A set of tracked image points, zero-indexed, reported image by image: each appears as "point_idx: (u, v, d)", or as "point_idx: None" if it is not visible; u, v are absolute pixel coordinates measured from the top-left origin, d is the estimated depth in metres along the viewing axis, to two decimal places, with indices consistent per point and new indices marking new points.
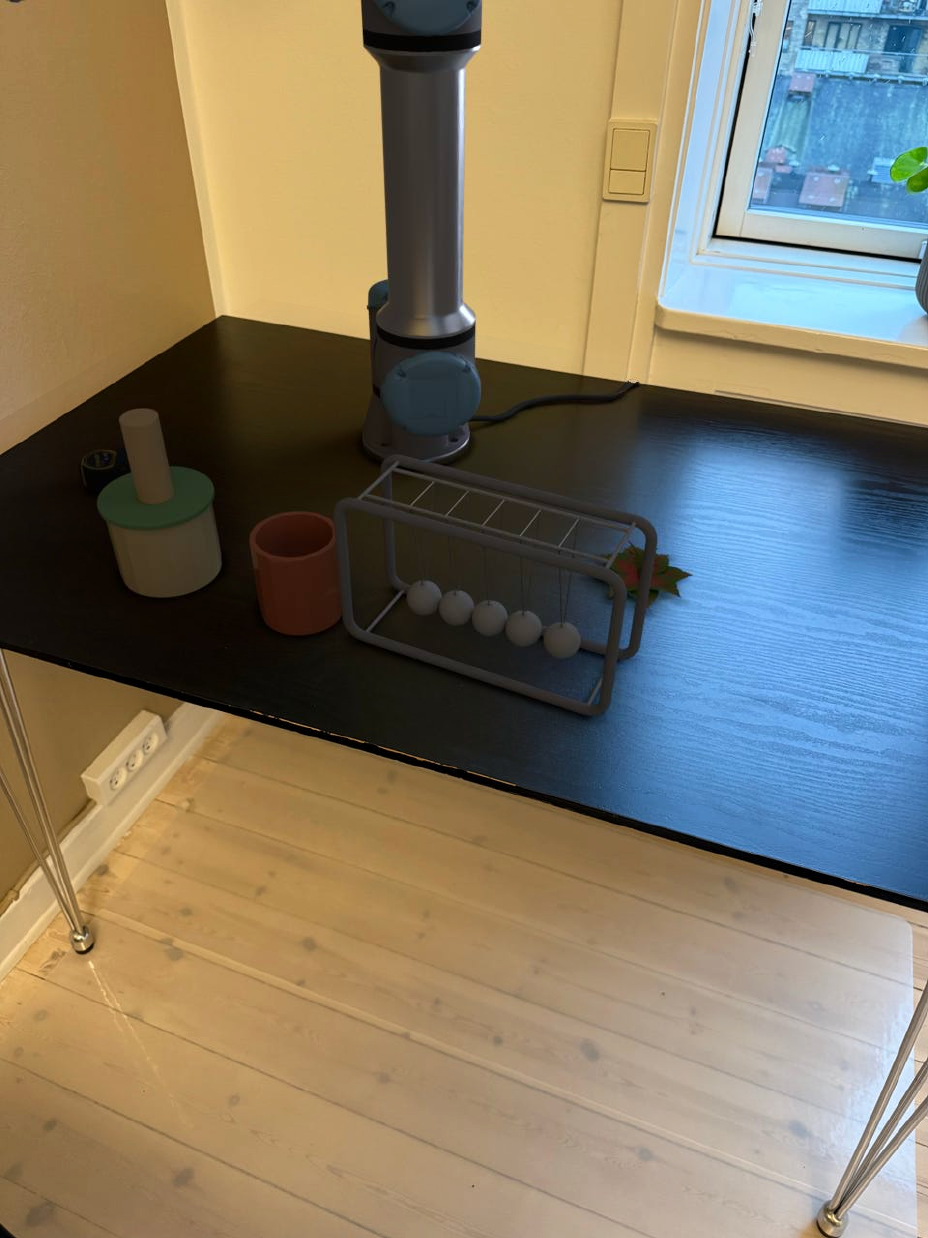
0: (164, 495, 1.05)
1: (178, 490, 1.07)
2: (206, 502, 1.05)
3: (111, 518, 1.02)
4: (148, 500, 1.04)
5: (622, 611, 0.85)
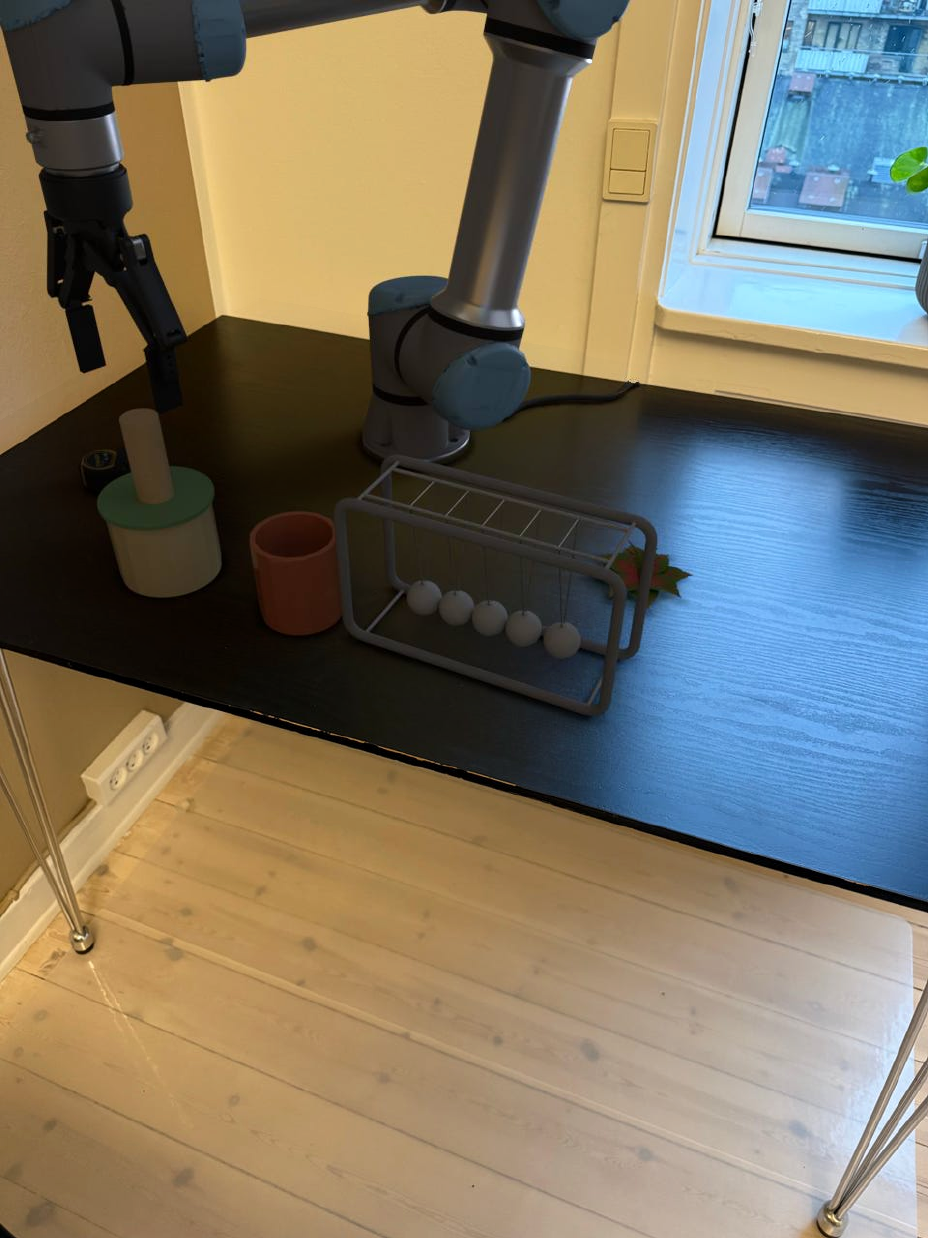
0: (164, 495, 1.05)
1: (178, 490, 1.07)
2: (206, 502, 1.05)
3: (111, 518, 1.02)
4: (148, 500, 1.04)
5: (622, 611, 0.85)
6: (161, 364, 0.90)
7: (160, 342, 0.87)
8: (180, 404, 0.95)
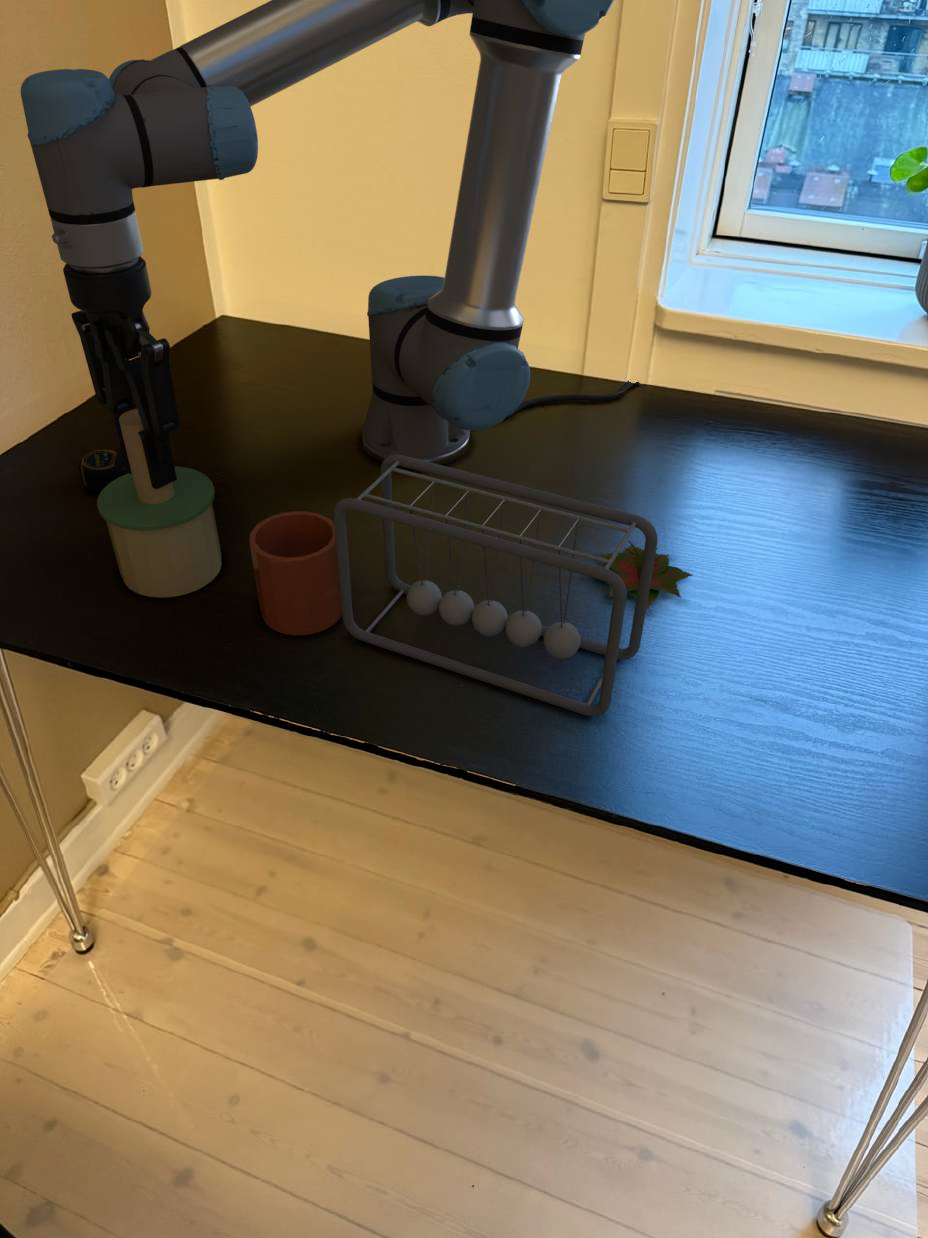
0: (164, 495, 1.05)
1: (178, 490, 1.07)
2: (206, 502, 1.05)
3: (111, 518, 1.02)
4: (148, 500, 1.04)
5: (622, 611, 0.85)
6: (156, 446, 0.99)
7: (155, 429, 0.96)
8: (174, 479, 1.04)
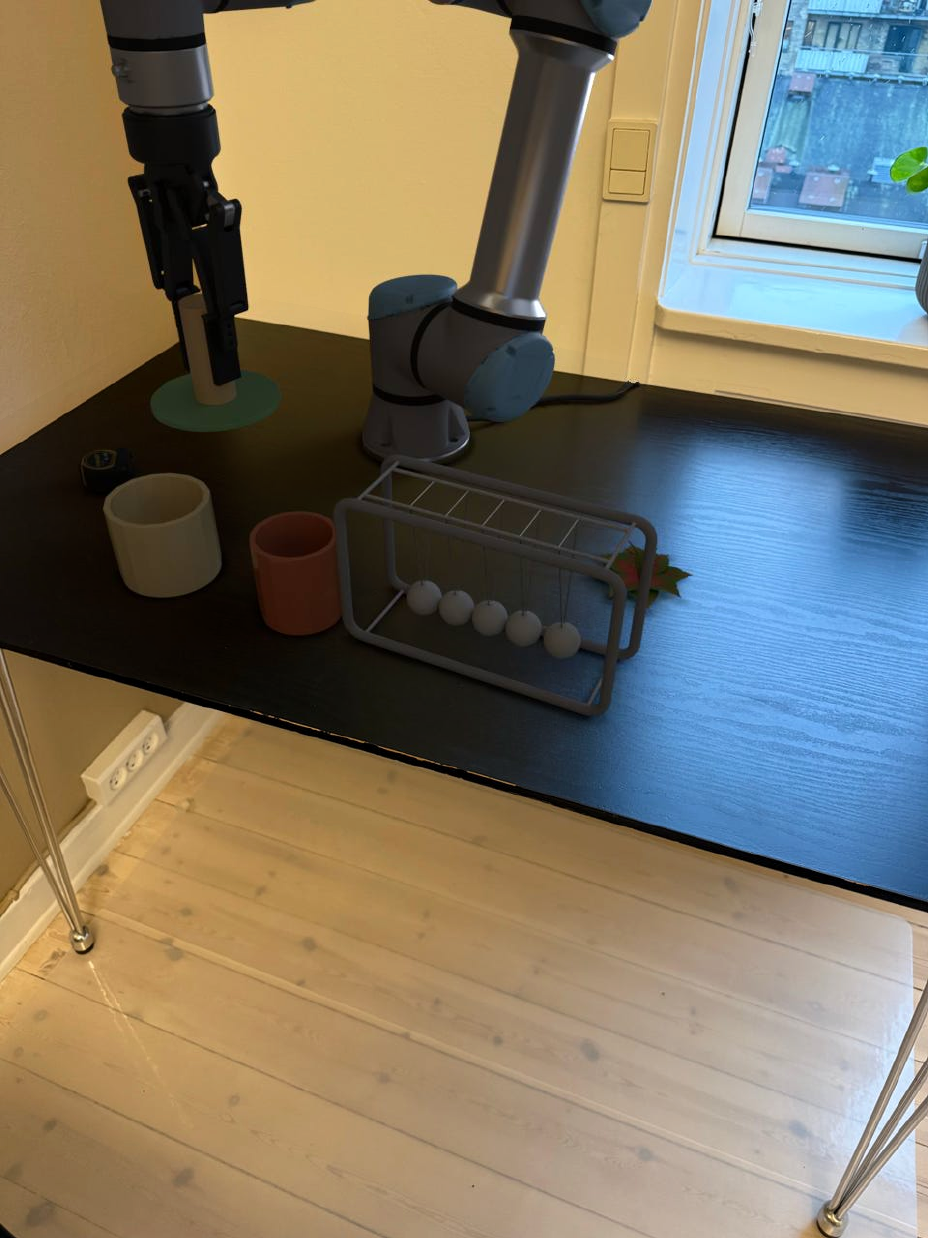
0: (226, 395, 0.93)
1: (241, 392, 0.95)
2: (273, 404, 0.93)
3: (167, 418, 0.90)
4: (208, 400, 0.92)
5: (622, 611, 0.85)
6: (220, 333, 0.87)
7: (221, 310, 0.84)
8: (238, 376, 0.92)
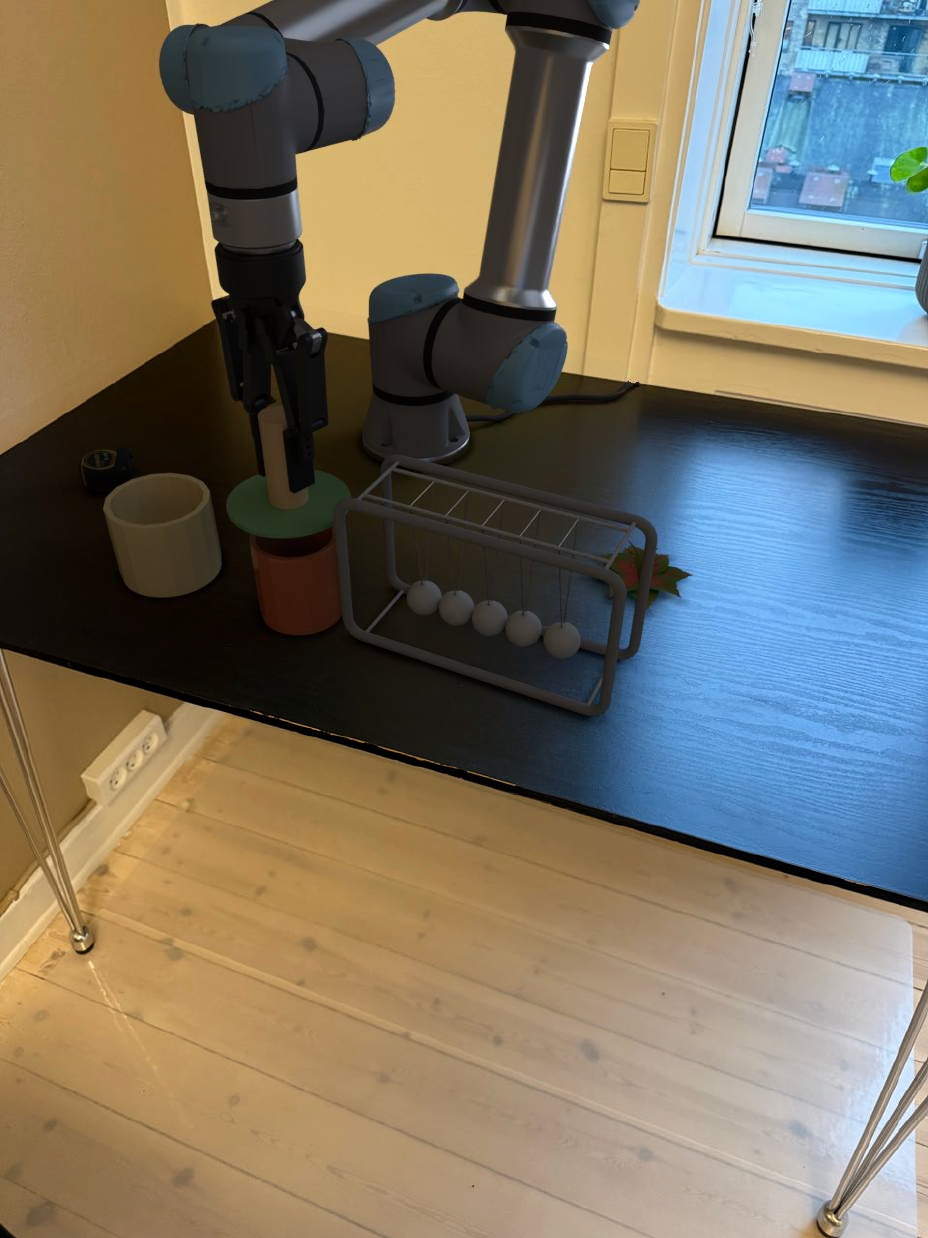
0: (300, 500, 0.96)
1: (312, 494, 0.98)
2: None
3: (245, 525, 0.94)
4: (283, 505, 0.96)
5: (622, 611, 0.85)
6: (299, 446, 0.91)
7: (304, 428, 0.88)
8: (312, 482, 0.95)
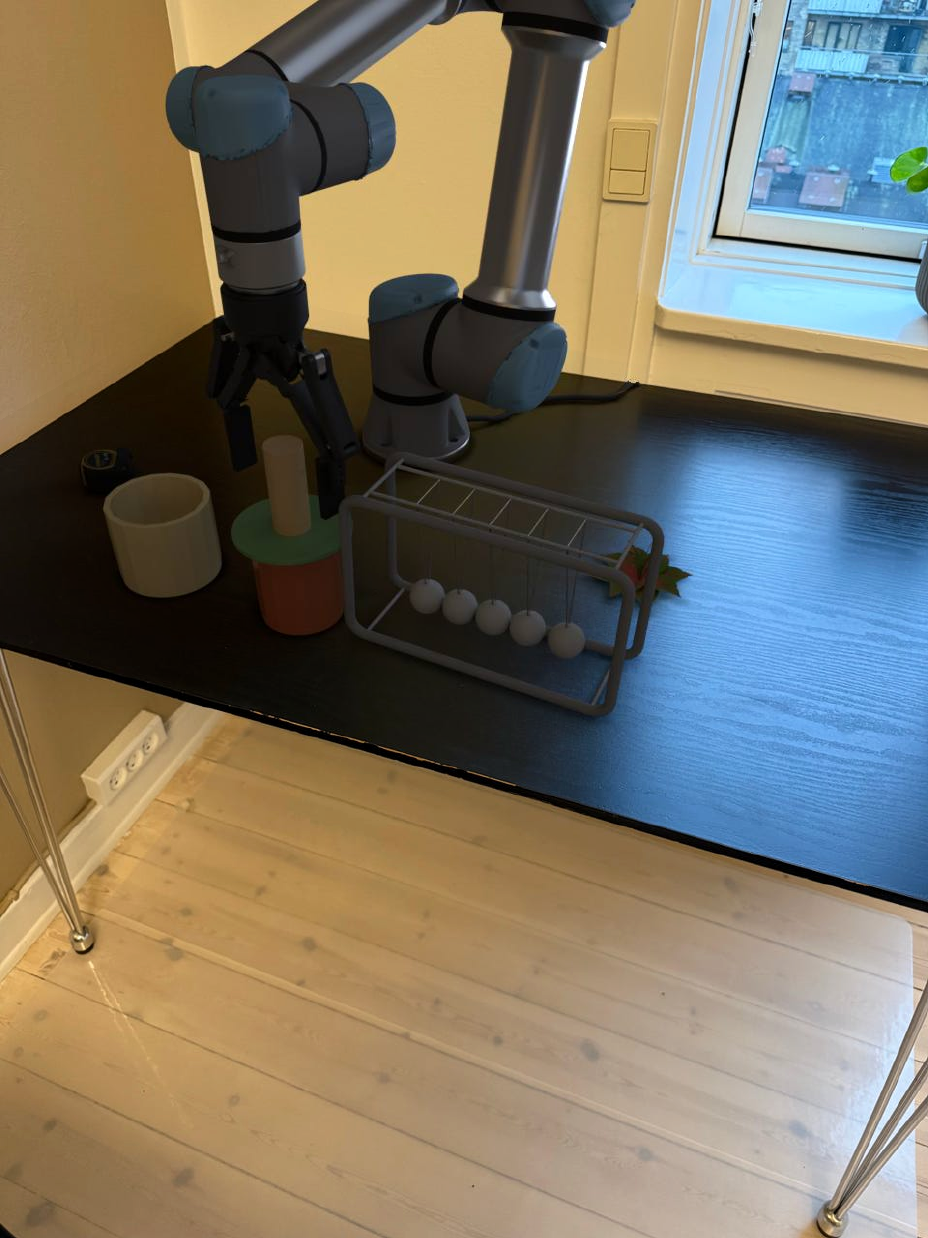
0: (303, 527, 0.98)
1: (315, 521, 1.00)
2: None
3: (250, 552, 0.96)
4: (286, 532, 0.98)
5: (631, 612, 0.85)
6: (332, 474, 0.89)
7: (336, 455, 0.86)
8: None
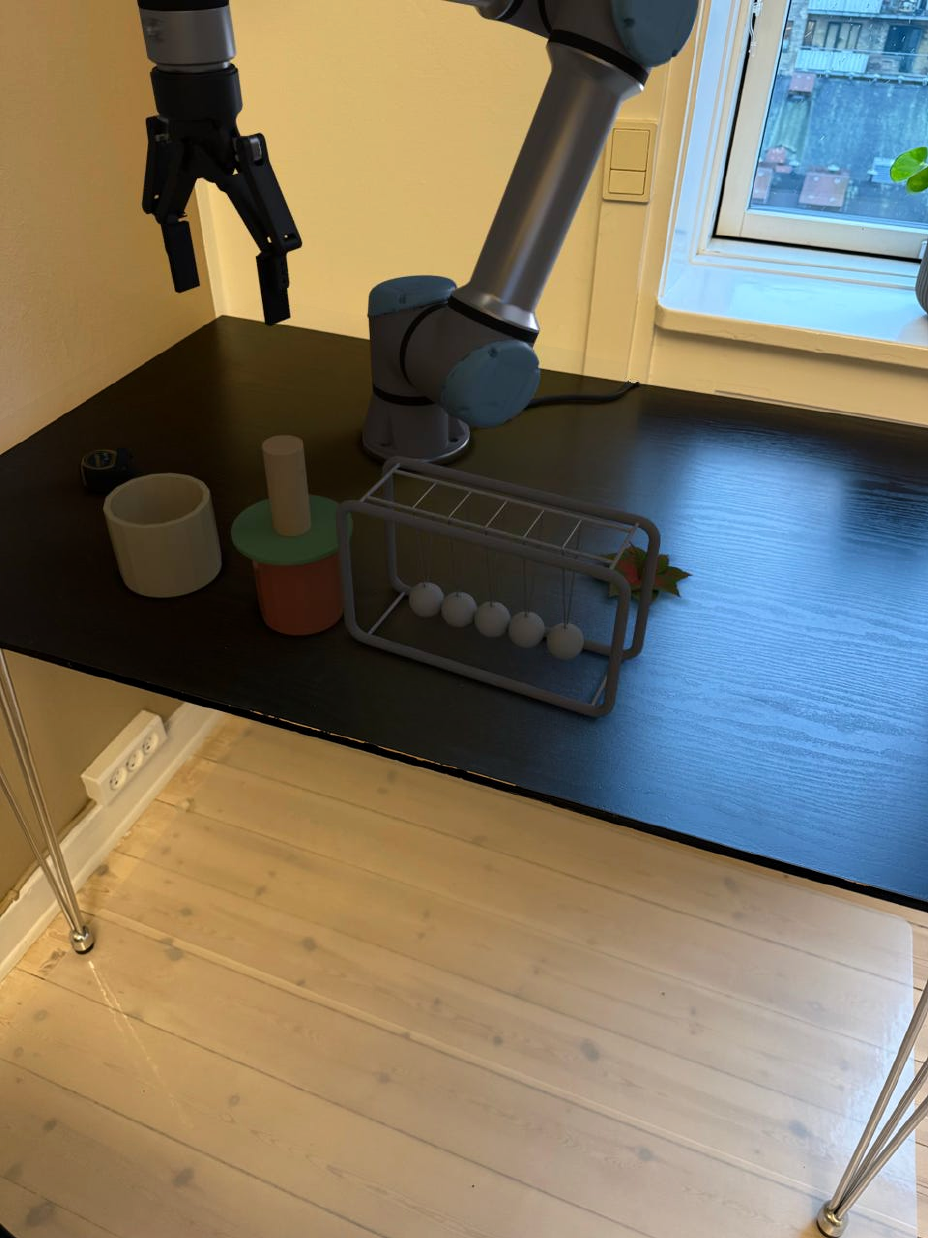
0: (303, 527, 0.98)
1: (315, 521, 1.00)
2: None
3: (250, 552, 0.96)
4: (286, 532, 0.98)
5: (626, 612, 0.85)
6: (274, 272, 0.89)
7: (277, 246, 0.86)
8: (288, 316, 0.93)
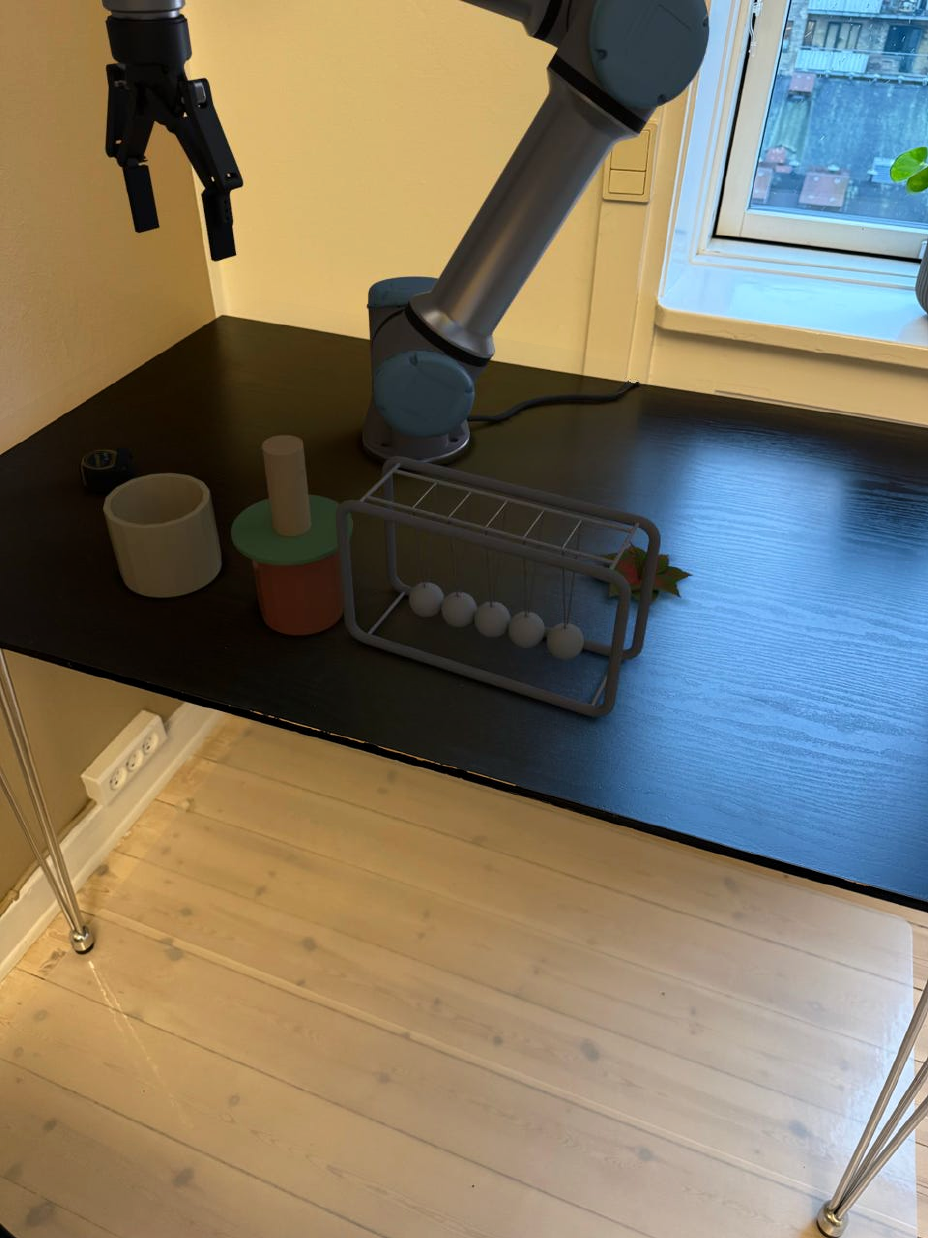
0: (303, 527, 0.98)
1: (315, 521, 1.00)
2: None
3: (250, 552, 0.96)
4: (286, 532, 0.98)
5: (627, 612, 0.85)
6: (217, 209, 0.96)
7: (218, 183, 0.93)
8: (233, 254, 1.00)
